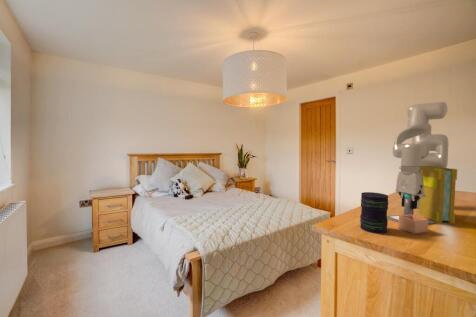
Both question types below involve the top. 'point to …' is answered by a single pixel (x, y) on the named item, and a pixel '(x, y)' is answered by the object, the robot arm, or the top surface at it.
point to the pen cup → (413, 224)
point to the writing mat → (396, 217)
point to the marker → (407, 204)
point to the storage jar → (374, 212)
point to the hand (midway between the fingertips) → (408, 207)
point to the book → (438, 193)
